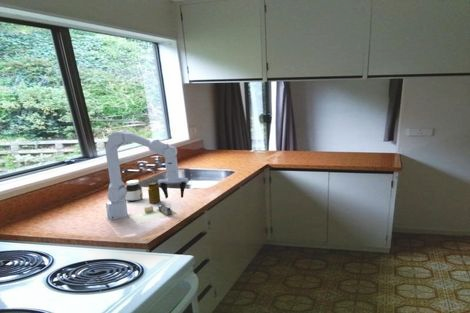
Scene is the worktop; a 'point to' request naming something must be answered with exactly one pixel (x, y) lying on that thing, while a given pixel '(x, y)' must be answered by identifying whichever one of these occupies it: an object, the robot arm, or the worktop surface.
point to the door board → (149, 216)
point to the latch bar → (165, 209)
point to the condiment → (153, 193)
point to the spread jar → (133, 191)
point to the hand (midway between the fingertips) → (174, 197)
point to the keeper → (148, 209)
